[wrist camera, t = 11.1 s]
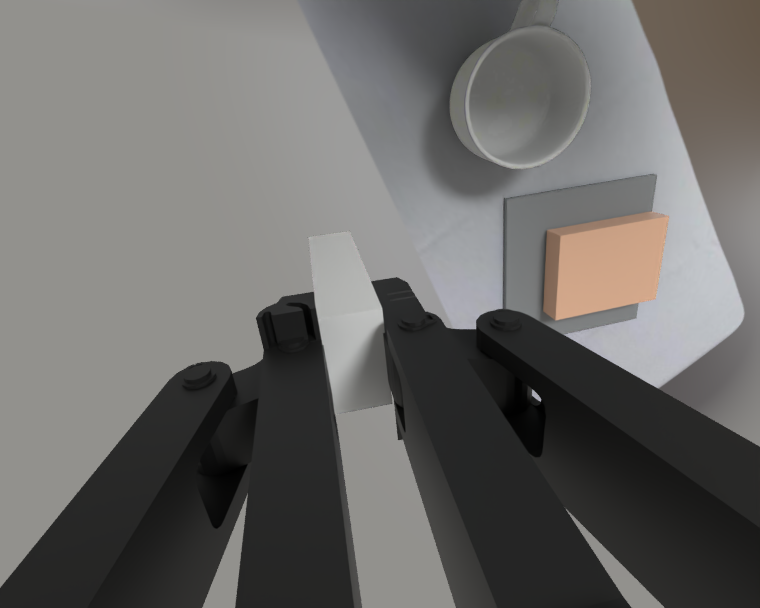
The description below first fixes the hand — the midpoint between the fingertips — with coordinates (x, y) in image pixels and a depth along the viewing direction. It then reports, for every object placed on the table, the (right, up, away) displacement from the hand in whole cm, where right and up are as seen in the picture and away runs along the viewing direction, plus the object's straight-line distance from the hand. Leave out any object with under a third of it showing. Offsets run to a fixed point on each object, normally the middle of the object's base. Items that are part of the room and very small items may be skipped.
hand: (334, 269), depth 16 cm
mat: (+25, +4, +36) cm, 44 cm away
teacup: (+13, +20, +26) cm, 35 cm away
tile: (+21, +2, +33) cm, 39 cm away
